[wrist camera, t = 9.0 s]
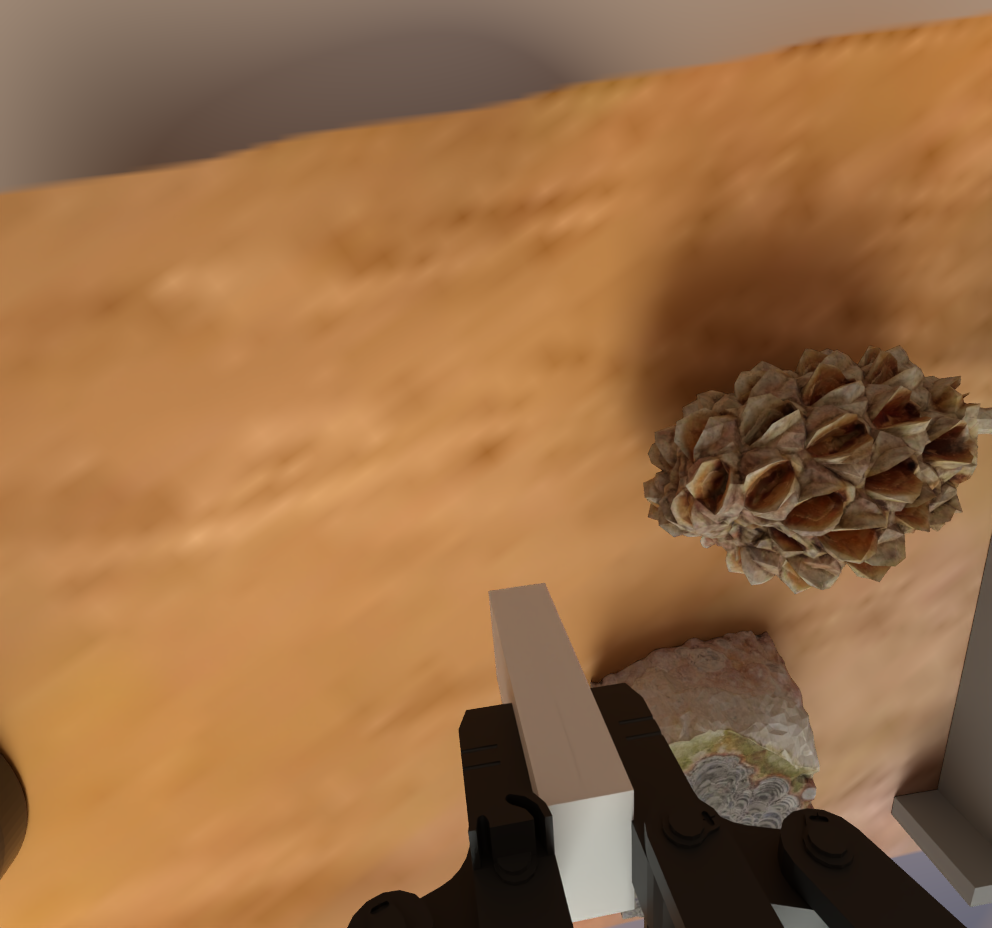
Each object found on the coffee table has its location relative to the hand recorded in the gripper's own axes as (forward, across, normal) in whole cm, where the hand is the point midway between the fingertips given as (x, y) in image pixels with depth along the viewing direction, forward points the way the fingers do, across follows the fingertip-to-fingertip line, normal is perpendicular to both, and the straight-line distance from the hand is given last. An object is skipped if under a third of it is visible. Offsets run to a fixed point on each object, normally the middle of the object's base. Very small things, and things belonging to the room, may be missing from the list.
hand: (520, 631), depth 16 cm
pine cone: (+13, -18, 0) cm, 22 cm away
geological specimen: (+13, -11, +19) cm, 26 cm away
